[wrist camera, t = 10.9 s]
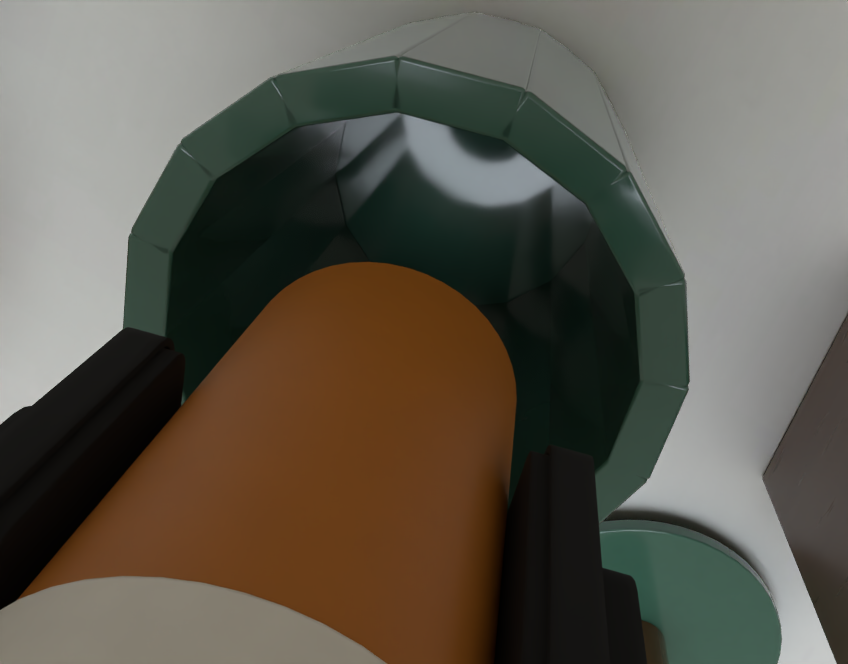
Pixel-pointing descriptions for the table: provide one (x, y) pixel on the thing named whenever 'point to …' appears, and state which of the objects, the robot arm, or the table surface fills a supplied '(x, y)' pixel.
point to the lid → (693, 595)
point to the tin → (439, 224)
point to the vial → (304, 497)
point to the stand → (819, 493)
